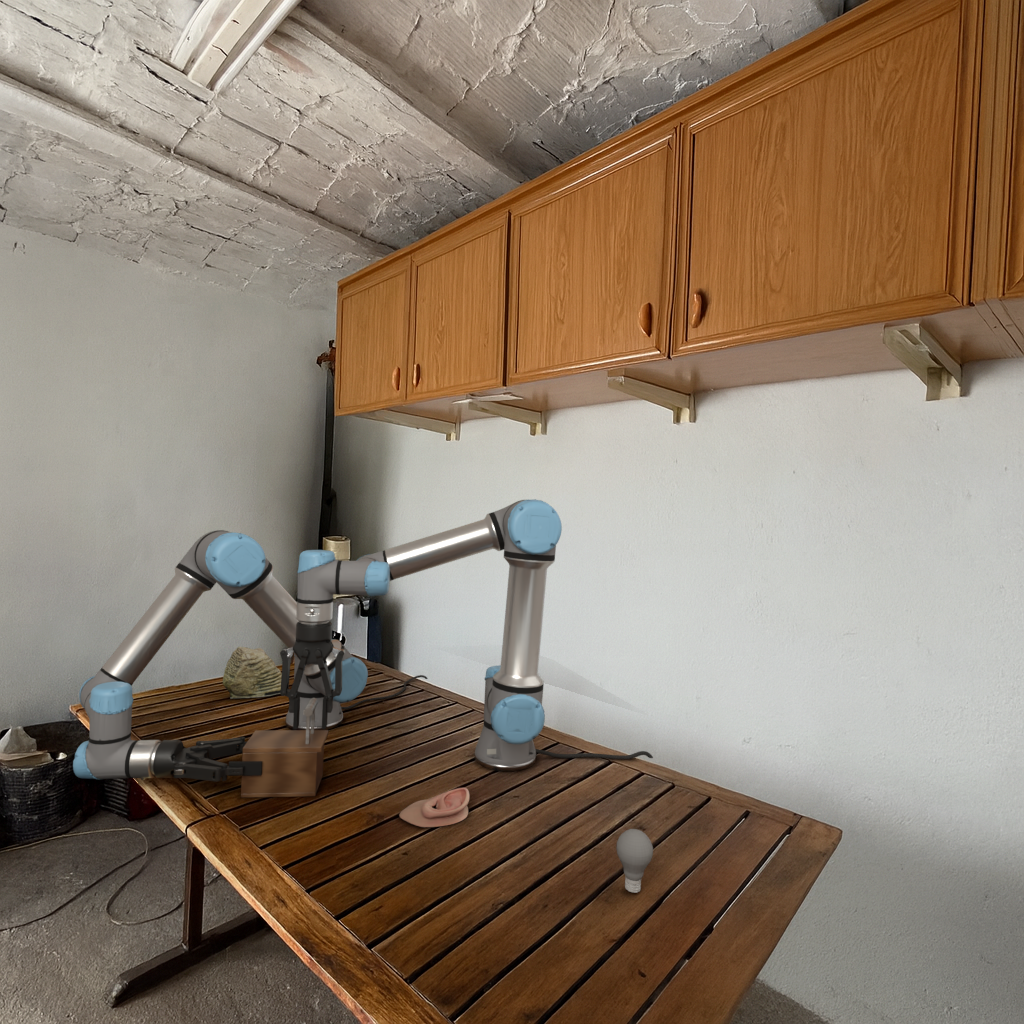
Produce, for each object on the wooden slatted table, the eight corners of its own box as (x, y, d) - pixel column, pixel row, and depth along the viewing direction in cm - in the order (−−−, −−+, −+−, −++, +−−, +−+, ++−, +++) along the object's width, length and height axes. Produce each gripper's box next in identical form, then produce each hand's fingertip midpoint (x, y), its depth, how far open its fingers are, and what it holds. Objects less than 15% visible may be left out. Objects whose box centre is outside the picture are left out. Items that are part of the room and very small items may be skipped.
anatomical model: (393, 802, 124) (414, 778, 135) (393, 823, 124) (413, 796, 135) (459, 812, 121) (474, 786, 132) (458, 833, 121) (473, 805, 133)
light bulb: (610, 879, 108) (613, 822, 108) (644, 879, 109) (647, 822, 109) (619, 902, 102) (622, 840, 102) (655, 901, 103) (658, 840, 103)
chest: (322, 775, 144) (324, 734, 144) (315, 796, 134) (316, 752, 134) (253, 776, 142) (255, 735, 142) (240, 797, 132) (242, 753, 132)
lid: (328, 734, 144) (329, 695, 144) (321, 752, 134) (322, 710, 134) (255, 734, 142) (256, 695, 142) (242, 752, 132) (244, 710, 132)
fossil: (218, 695, 195) (220, 647, 195) (278, 685, 208) (279, 640, 207) (228, 703, 189) (230, 653, 188) (289, 692, 201) (290, 645, 201)
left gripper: (178, 754, 146) (279, 753, 149) (134, 802, 123) (253, 799, 126) (179, 722, 145) (280, 722, 148) (135, 763, 123) (254, 762, 126)
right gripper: (266, 623, 133) (262, 733, 133) (355, 625, 135) (351, 733, 136) (274, 617, 140) (270, 721, 141) (359, 618, 143) (355, 720, 143)
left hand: (268, 757), depth 137 cm, fingers closed on chest, 10 cm apart
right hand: (310, 726), depth 138 cm, fingers open, 5 cm apart
